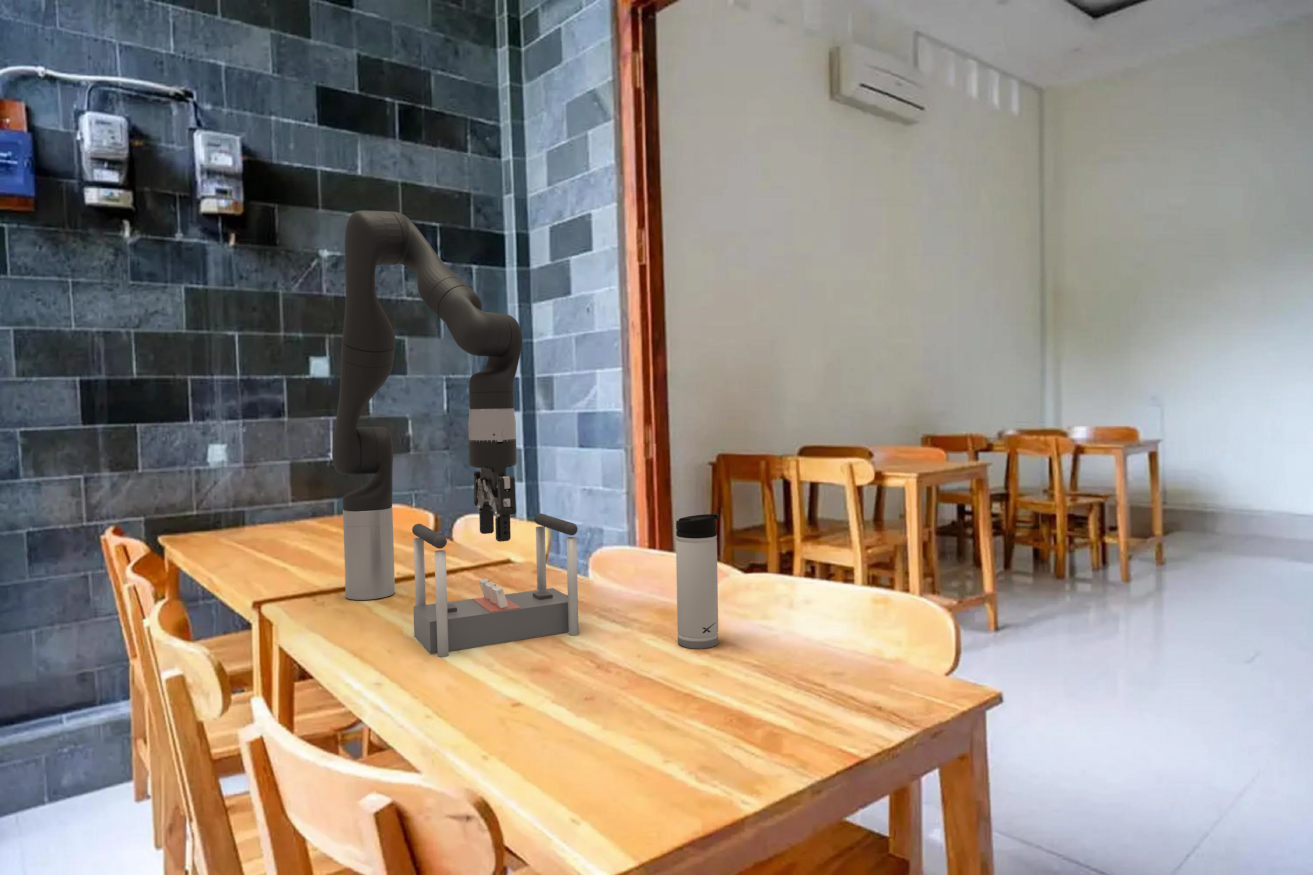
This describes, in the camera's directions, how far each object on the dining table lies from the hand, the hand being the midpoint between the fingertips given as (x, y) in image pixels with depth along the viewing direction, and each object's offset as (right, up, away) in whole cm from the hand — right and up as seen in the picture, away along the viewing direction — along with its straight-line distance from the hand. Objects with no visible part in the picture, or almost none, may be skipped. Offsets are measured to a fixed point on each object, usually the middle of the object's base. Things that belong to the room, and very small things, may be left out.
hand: (494, 537), depth 132 cm
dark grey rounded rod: (-9, 0, -5) cm, 11 cm away
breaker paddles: (0, -11, 0) cm, 11 cm away
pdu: (0, -16, +1) cm, 16 cm away
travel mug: (+33, -16, -7) cm, 37 cm away
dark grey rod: (+9, +1, +5) cm, 10 cm away
